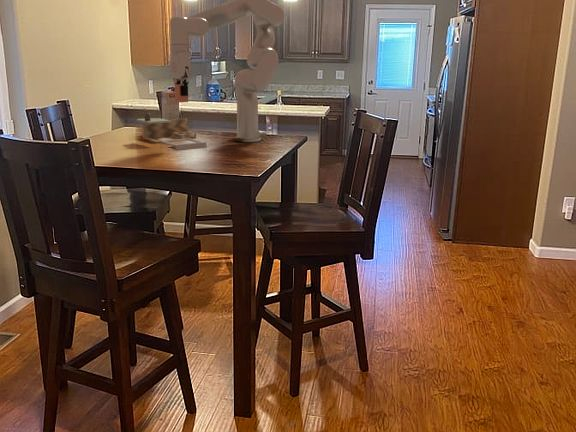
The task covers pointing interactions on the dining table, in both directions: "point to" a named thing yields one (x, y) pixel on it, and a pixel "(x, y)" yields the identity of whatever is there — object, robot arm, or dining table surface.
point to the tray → (185, 146)
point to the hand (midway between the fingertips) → (181, 94)
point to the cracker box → (169, 105)
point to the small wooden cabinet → (167, 130)
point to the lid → (153, 119)
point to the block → (179, 94)
